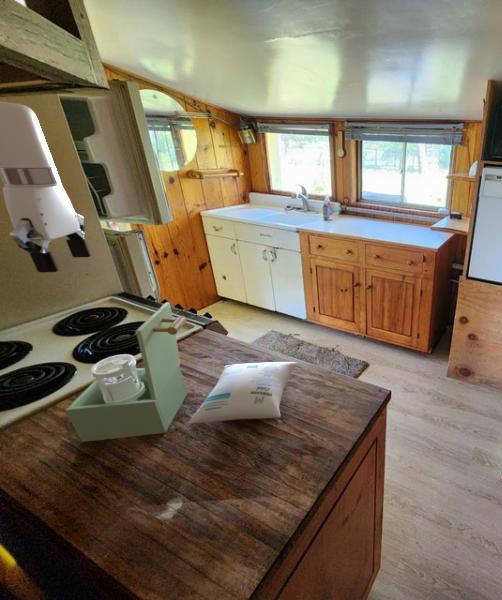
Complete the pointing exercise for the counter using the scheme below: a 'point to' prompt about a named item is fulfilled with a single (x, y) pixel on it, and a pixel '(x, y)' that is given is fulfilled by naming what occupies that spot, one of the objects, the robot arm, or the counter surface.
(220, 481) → the counter surface
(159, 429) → the box
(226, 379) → the pouch
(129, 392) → the white cylindrical piece
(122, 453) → the counter surface
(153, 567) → the counter surface
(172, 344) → the lid
